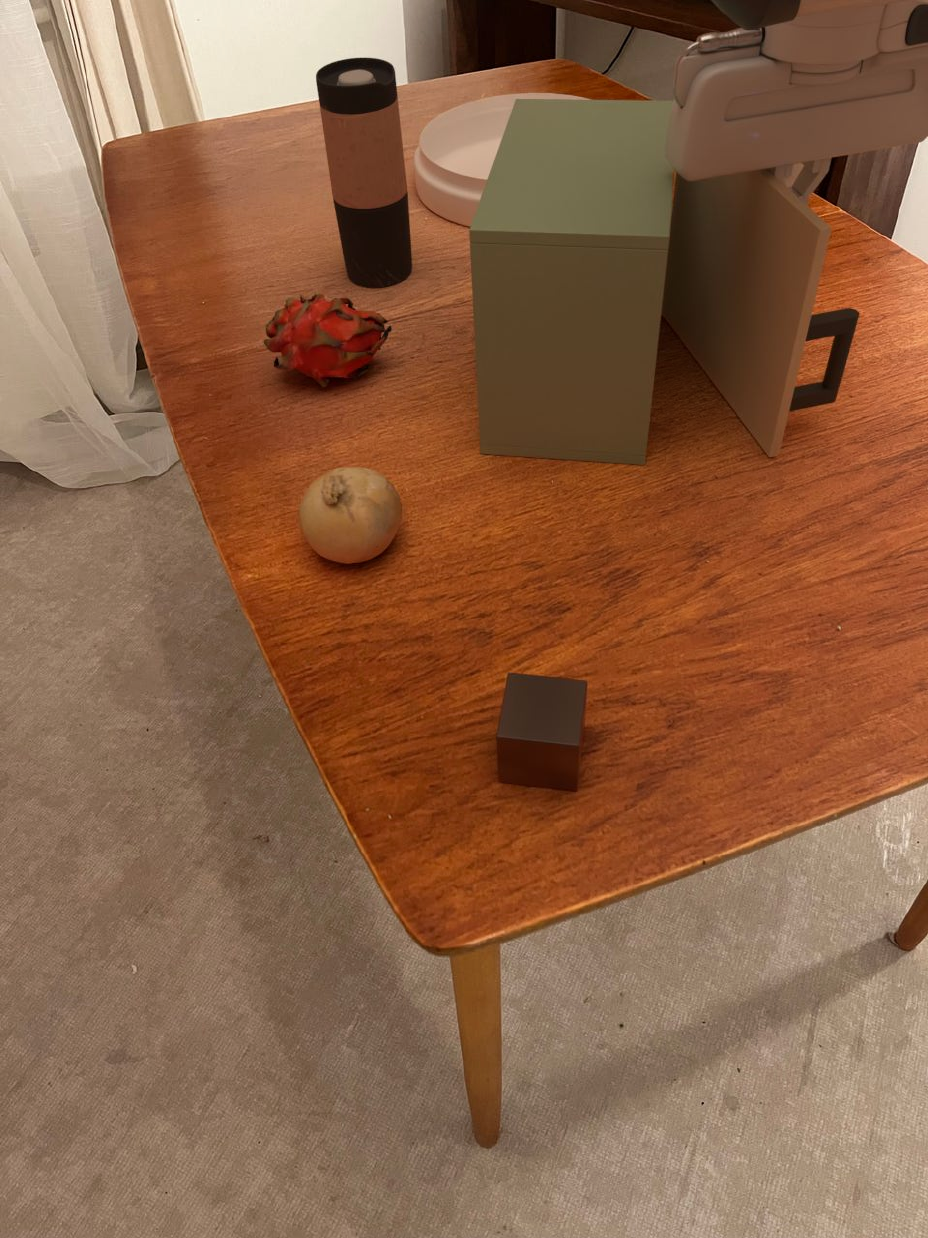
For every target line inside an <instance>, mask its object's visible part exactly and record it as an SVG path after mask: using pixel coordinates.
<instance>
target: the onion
mask: <svg viewBox="0 0 928 1238" xmlns="http://www.w3.org/2000/svg"><path fill="white" fill-rule="evenodd" d="M402 518H403V504H402V501H401V497H400V495H399V493H398V490H397V488H396V487H395V486H394V484H393V483H392V482H391V481H390V480H389V479H388V478H387V477H386V476H385V475H384V474H382V473H380V472H378V471H376V470H374V469H371V468H369V467H368V468H367V467H359V466H356V467H355V466H354V467H353V466H347V467H346V466H345V467H343V466H342V467H336V468H333V469H331V470H329V471H327V472H325V473H323V474H322V475H320V476H318V477H317V478H315V479H314V480H313V481H312V482H311V483H310V484H309V486H308V487H307V489H306V490H305V492H304V494H303V496H302V499H301V502H300V504H299V508H298V521H299V522H298V523H299V527H300V530H301V533H302V535H303V538H304V539H305V541H306V543H307V544H308V546H309V547H310V548H311V549H312V550H313V551H314V552H315V553H316V554H318V556H320V557H322V558H324V559H326V560H329V561H333V562H335V563H339V564H347V565H350V564H355V563H357V564H358V563H362V562H367V561H369V560H370V561H371V560H372V559H374V558H376V557H378V556H379V555H381V554H382V553H383V552H384V551H385V550H386V549H388V547H389V546H390V545H391V543H392V542H393V540H394V538H395V537H396V535H397V533H398V532H399V530H400V527H401V523H402Z"/></svg>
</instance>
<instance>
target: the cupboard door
mask: <svg viewBox="0 0 928 1238" xmlns="http://www.w3.org/2000/svg"><path fill="white" fill-rule="evenodd" d="M832 230H833V229H832V226H830V225H829V224H828V223H827V222H826V221H825V220H824V219H823V218H822V217H821V216H819V215H818V214H817V213H816V212H815V211H814V210H813V209H812V208H810V207H809V205H808V206H807V205H806V204H805V203H804V202H803V201H801V200H800V199H799V198H798V197H797V196H796V195H795V194H794V193H793V192H792V191H790V190H789V189H788V188H787V187H786V186H785V185H784V184H783V183H782V182H781V181H779V180H778V179H777V178H776V177H775V176H774V175H773V174H772V173H771V172H769V171H768V170H767V169H761V170H755V171H750V172H744V173H738V174H732V175H726V176H720V177H714V178H709V179H703V180H697V181H686V180H685V179H684V178H682V177H681V176H680V175H679V174H678V173H677V172H676V171H675V175H674V185H673V197H672V210H671V224H670V237H669V246H668V256H667V265H666V274H665V284H664V293H663V302H662V312H661V316H662V317H663V318H664V319H665V321H666V322H667V323H668V325H669V326H670V327H671V329H672V330H673V331H674V332H675V334H676V335H677V337H678V338H679V339H680V340H681V342H682V343H683V345H684V346H685V347H686V349H687V350H688V351H689V353H690V354H691V356H692V357H693V358H694V359H695V361H696V363H698V365H699V366H700V367H701V369H702V370H703V372H704V373H705V374H706V375H707V377H708V378H709V380H710V381H711V382H712V384H713V385H714V386H715V388H717V390H718V392H719V393H720V394H721V395H722V397H723V398H724V399H725V401H726V402H727V403H728V405H729V406H730V407H731V409H732V410H733V412H734V413H735V414H736V415H737V417H738V418H739V419H740V421H741V422H742V424H743V425H744V426H745V428H746V429H747V430H748V432H749V433H750V434H751V435H752V437H753V438H754V439H755V441H756V442H757V444H758V445H759V446H760V448H761V449H762V450H763V452H764V453H765V454H766V455H767V457H768V458H773V457H778V456H779V455H780V452H781V449H782V448H781V447H782V443H783V439H784V434H785V431H786V426H787V422H788V417H789V413H790V412H794V411H799V410H805V409H809V408H814V407H819V406H825V405H829V404H834V403H835V402H836V401H837V398H838V394H839V392H840V391H839V390H840V388H841V384H842V379H843V376H844V372H845V369H846V365H847V362H848V359H849V355H850V351H851V347H852V343H853V340H854V336H855V333H856V328H857V325H858V321H859V318H860V312H859V310H857V309H856V308H852V307H846V308H841V309H836V310H831V311H826V312H825V311H824V312H819V313H815V314H814V313H813V311H814V306H815V301H816V297H817V293H818V290H819V284H820V281H821V277H822V271H823V267H824V265H825V264H824V263H825V259H826V254H827V250H828V246H829V243H830V242H829V241H830V238H831V234H832ZM830 337H833V340H832V344H831V348H830V352H829V356H828V359H827V364H826V367H825V372H824V375H823V379H822V381H818V382H813V383H812V382H811V383H808V384H803V385H798V386H796V383H797V379H798V374H799V371H800V366H801V362H802V358H803V354H804V349H805V345H806V342H809V341H810V342H811V341H815V340H819V339H825V338H830Z"/></svg>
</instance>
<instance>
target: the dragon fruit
mask: <svg viewBox="0 0 928 1238" xmlns="http://www.w3.org/2000/svg"><path fill="white" fill-rule="evenodd" d="M346 305H347V306H346ZM353 305H354V303H353V301H352V300H351V298H349V297H340V298H338V297H333V299H331V300H326V298H325V295H324V294H323V293H315V294H313V295H312V296H311V298H308V299H306V297H304V295H302V294H299V299H298V298H296V297H295V296H294V297H288V298H287V299H285V304H284V307H283V308H281V309H277V310H276V311H275V312H274V316H273V317H272V319H271V320H270V321H268V323H265V334H266V336H267V337H268V338H266V339H264V340H263V341H262V343H263V344H264V346H265V347H266V349H267V351H269V352H271V353H280V354H281V356H280V360H279V358H278V356H276V357H275V359H274V360H273V368H276V369H278V370H280V371H287V372H290V371H293V370H294V369H297V370H298V371H300V372H301V373H302V374H304V375H305V377H306V378H312V379H314V380H315V381H316V383H318V384H319V385H320V388H326V387H328V385H329V382H330V379H328V378H344V379H353V380H355V379H357V378H359V377H361V376H363V375H364V374H366V373H367V372H368V371H371V369H372V368H373V366H372V365H366V364H368V363H370V362H371V361H372V360H373V358H374V356H375V355H376V353H377V352H378V351H380V350H381V347H382V346H383V344H385V343H386V341H387V339H388V337H389V334H390V333H391V332H392V329H393V328H392V325H388V327H386V328H385V324H387V323H388V322H389V321H388V320H387V319H386V318H384V316H383V315H381V314H380V312H375V311H372V310H356V308H355V307H353ZM364 365H366V366H364Z"/></svg>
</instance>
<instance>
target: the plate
mask: <svg viewBox="0 0 928 1238" xmlns="http://www.w3.org/2000/svg"><path fill="white" fill-rule="evenodd" d="M516 99H569V100H593V99H592V98H587V97H582V96H577V95H571V94H566V93H565V94H564V93H552V92H551V93H549V92H521V93H509V94H502V95H501V94H500V95H495V96H489V97H484V98H480V99H477V100H476V99H475V100H471V101H468V102H465V103H462V104H460V105H457V106H455V107H452V108H449V109H447V110H445V111H444V112H442V113H440V114H439V115H436V117H434V118H433V119H431V120H430V121H428V123H427V124H426V125H425V127H423V129H422V131H421V133H420V135H419V140H418V141H419V145H418V146H417V148H416V150H415V152H414V155H413V166H414V167H413V169H414V170H413V171H414V178H415V179H414V180H415V189H416V193H417V196H418V197H419V200H420V201H421V202H422V203H423V205H424V206H425V207H427V208H428V209H429V210H430V211H431V212H432V213H434V214H436V215H438V216H439V217H441V218H443V219H445V220H447V221H449V222H452V223H454V224H458V225H461V226H464V227H468V228H470V227H471V224H472V221H473V218H474V215H475V213H476V210H477V207H478V204H479V201H480V199H481V196H482V193H483V190H484V187H485V185H486V182H487V179H488V176H489V173H490V171H491V168H492V165H493V162H494V159H495V157H496V154H497V151H498V148H499V145H500V143H501V140H502V137H503V134H504V131H505V129H506V126H507V123H508V120H509V117H510V115H511V112H512V109H513V106H514V103H515V101H516Z"/></svg>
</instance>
